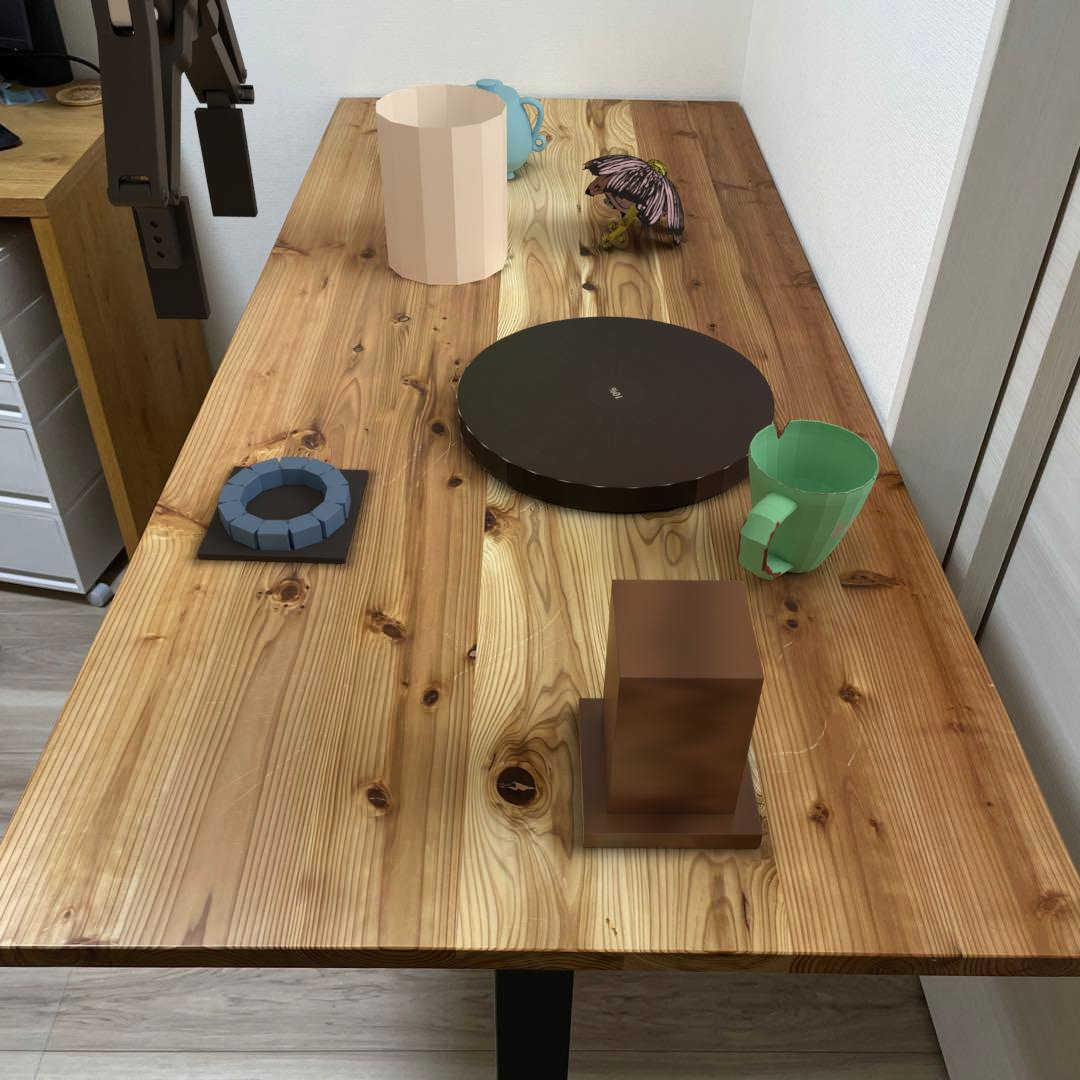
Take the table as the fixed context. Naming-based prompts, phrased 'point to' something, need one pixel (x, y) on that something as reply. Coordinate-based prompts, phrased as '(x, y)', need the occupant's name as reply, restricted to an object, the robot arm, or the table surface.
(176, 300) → the robot arm
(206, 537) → the mat
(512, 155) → the teapot
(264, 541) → the ring
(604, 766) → the stand
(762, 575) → the mug
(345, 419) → the table surface
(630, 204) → the decorative flower
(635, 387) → the disc
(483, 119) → the container
